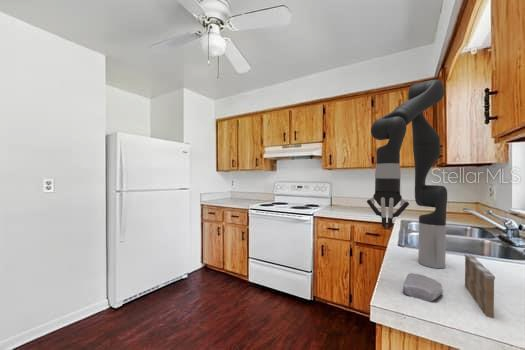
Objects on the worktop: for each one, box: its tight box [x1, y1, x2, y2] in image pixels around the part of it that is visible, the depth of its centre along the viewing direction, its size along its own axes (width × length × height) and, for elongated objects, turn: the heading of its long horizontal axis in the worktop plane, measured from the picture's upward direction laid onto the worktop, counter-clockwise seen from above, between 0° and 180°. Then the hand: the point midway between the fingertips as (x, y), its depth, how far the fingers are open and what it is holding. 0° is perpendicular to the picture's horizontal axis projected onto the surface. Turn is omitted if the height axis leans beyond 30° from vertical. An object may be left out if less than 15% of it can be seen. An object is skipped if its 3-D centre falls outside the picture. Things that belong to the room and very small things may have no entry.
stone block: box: [402, 272, 444, 302], centre depth 75 cm, size 12×5×10 cm
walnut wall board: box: [464, 253, 496, 319], centre depth 71 cm, size 20×2×11 cm, turn 152°
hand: (386, 228), depth 80 cm, fingers closed
